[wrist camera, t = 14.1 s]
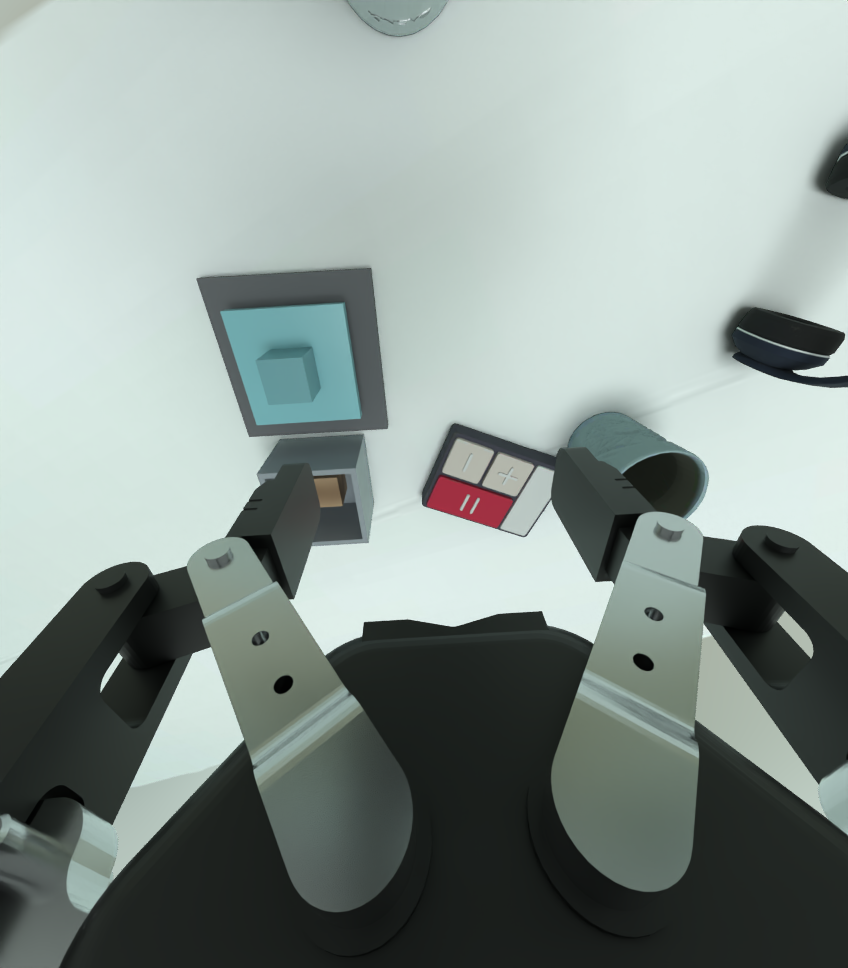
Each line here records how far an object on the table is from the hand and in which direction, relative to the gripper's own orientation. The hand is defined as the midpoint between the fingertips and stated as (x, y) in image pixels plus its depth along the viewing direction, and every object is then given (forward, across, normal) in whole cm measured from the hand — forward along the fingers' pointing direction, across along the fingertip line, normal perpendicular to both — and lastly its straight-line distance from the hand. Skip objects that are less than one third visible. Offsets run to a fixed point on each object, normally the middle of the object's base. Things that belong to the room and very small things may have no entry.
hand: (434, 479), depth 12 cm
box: (+30, +12, +17) cm, 37 cm away
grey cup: (+30, -22, +15) cm, 40 cm away
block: (+30, +12, +17) cm, 36 cm away
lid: (+29, +12, +3) cm, 32 cm away
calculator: (+31, -8, +19) cm, 37 cm away
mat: (+30, +12, +3) cm, 33 cm away
